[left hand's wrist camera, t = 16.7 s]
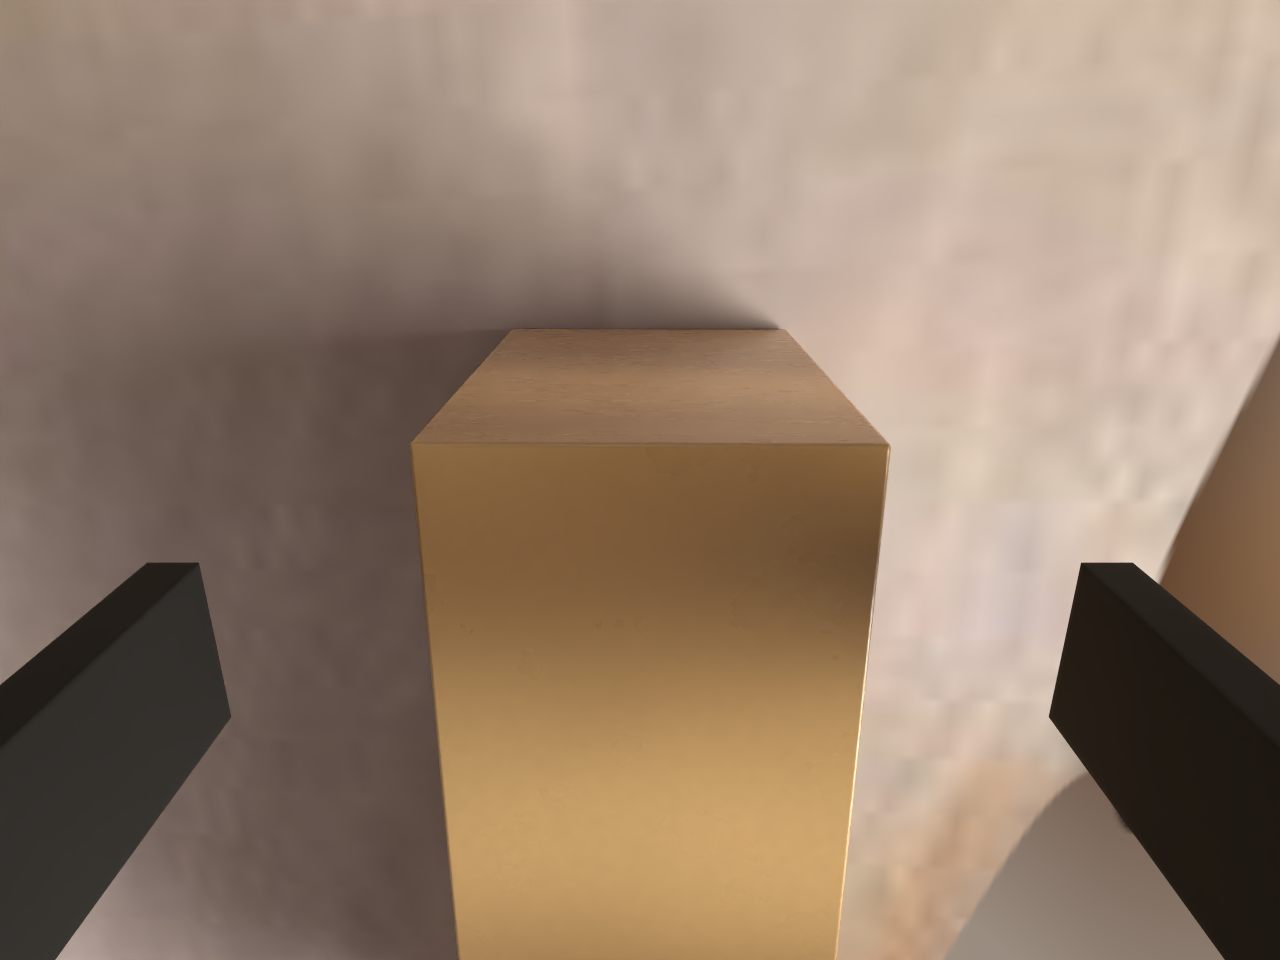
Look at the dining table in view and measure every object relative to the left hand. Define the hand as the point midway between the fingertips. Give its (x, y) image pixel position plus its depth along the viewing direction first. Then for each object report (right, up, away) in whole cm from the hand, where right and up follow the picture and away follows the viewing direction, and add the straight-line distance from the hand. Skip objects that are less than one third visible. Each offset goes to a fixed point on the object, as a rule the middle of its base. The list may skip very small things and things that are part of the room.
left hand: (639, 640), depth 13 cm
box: (0, -5, +14) cm, 15 cm away
